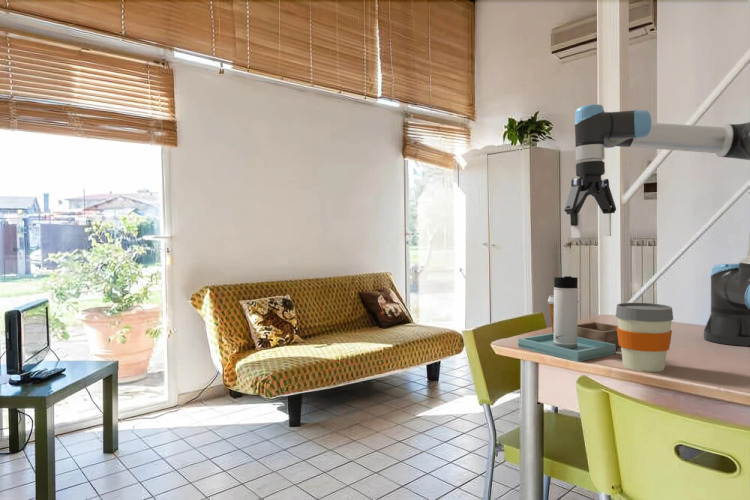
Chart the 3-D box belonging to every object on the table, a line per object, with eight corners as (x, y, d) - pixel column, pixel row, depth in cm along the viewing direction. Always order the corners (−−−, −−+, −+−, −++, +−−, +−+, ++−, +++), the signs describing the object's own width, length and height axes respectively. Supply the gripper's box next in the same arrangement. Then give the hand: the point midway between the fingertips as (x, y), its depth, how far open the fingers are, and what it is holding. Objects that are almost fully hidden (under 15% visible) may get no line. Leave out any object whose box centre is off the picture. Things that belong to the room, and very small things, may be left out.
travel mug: (556, 348, 143) (556, 276, 142) (551, 343, 149) (552, 274, 149) (579, 349, 142) (580, 276, 141) (574, 344, 148) (575, 274, 148)
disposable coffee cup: (580, 336, 164) (581, 298, 163) (549, 335, 165) (549, 298, 165) (575, 331, 173) (575, 295, 172) (545, 330, 175) (545, 294, 174)
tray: (615, 353, 141) (615, 344, 141) (577, 361, 133) (577, 352, 133) (555, 340, 158) (555, 332, 158) (518, 347, 150) (518, 338, 150)
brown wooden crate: (630, 344, 152) (630, 327, 151) (604, 350, 145) (604, 332, 145) (593, 337, 162) (593, 321, 162) (568, 342, 155) (568, 326, 155)
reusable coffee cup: (677, 375, 119) (678, 311, 119) (617, 371, 124) (617, 308, 123) (667, 362, 131) (668, 303, 131) (613, 358, 135) (613, 301, 135)
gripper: (604, 165, 156) (606, 235, 157) (549, 161, 143) (551, 238, 143) (628, 161, 150) (629, 235, 151) (573, 157, 136) (575, 238, 137)
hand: (591, 237), depth 147 cm, fingers open, 13 cm apart
